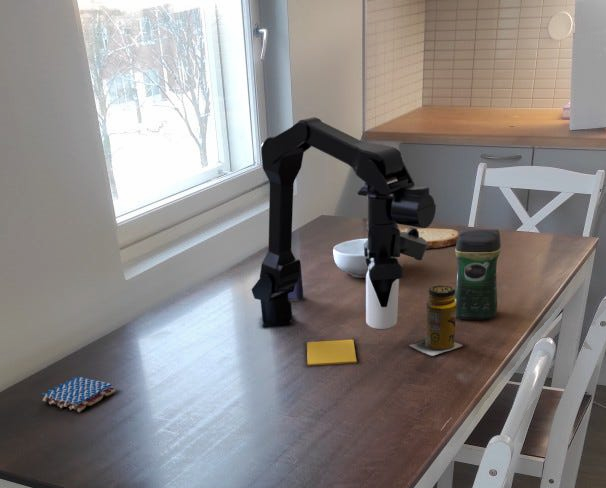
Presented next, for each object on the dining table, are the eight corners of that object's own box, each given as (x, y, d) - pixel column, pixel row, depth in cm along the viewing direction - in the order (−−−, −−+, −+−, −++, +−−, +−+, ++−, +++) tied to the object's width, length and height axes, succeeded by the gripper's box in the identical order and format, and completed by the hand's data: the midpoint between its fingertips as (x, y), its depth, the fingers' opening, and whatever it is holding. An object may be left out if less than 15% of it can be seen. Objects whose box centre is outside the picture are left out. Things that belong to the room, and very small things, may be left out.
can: (363, 317, 169) (364, 261, 161) (394, 315, 169) (396, 259, 161) (368, 331, 164) (368, 274, 156) (399, 329, 164) (401, 272, 156)
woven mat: (80, 413, 152) (77, 404, 151) (41, 403, 157) (38, 394, 156) (117, 392, 159) (115, 382, 158) (79, 383, 164) (77, 374, 163)
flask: (266, 299, 200) (262, 255, 194) (270, 295, 202) (267, 252, 196) (301, 301, 197) (298, 256, 191) (305, 297, 200) (302, 253, 193)
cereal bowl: (409, 267, 214) (409, 240, 210) (379, 286, 203) (379, 258, 198) (353, 261, 222) (353, 234, 218) (322, 279, 211) (320, 251, 207)
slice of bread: (466, 239, 232) (467, 226, 230) (429, 255, 222) (429, 241, 219) (416, 231, 242) (416, 218, 240) (378, 246, 232) (378, 232, 230)
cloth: (307, 365, 164) (307, 364, 164) (307, 343, 174) (307, 342, 174) (356, 362, 164) (356, 361, 164) (353, 341, 174) (353, 339, 174)
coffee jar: (497, 309, 184) (504, 225, 173) (494, 322, 178) (501, 235, 167) (455, 308, 186) (458, 225, 176) (450, 320, 180) (454, 234, 169)
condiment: (463, 346, 168) (466, 288, 161) (432, 356, 164) (433, 298, 157) (439, 336, 173) (441, 280, 166) (409, 346, 169) (409, 290, 162)
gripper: (431, 231, 146) (428, 315, 155) (418, 206, 161) (417, 284, 170) (369, 235, 146) (370, 318, 155) (363, 210, 162) (364, 287, 171)
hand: (382, 301), depth 163 cm, fingers closed on can, 6 cm apart
